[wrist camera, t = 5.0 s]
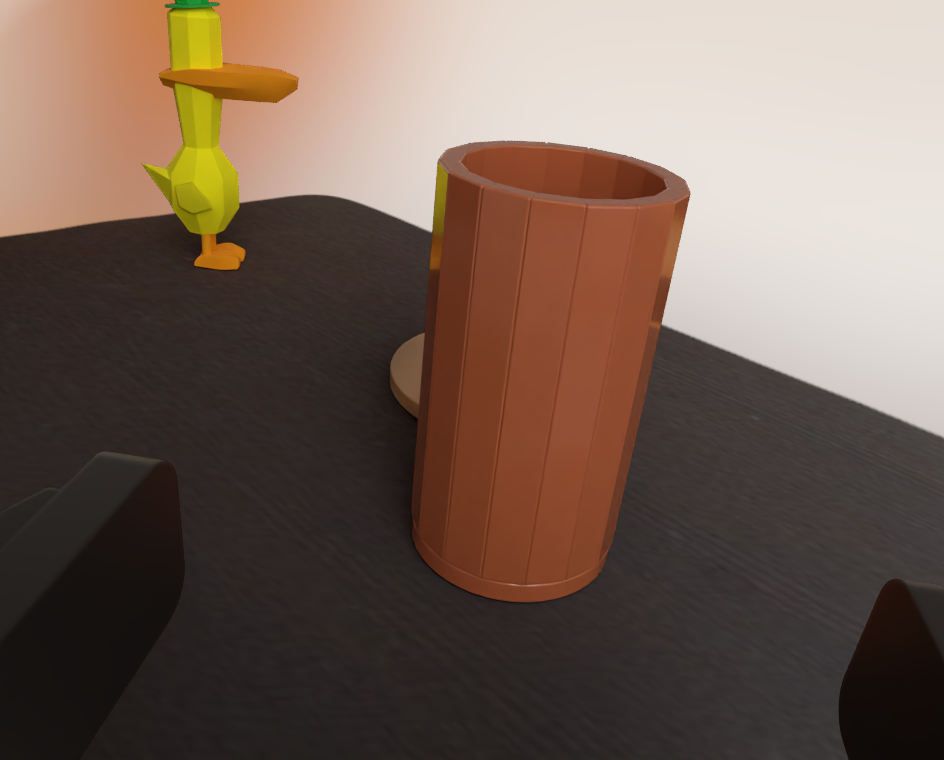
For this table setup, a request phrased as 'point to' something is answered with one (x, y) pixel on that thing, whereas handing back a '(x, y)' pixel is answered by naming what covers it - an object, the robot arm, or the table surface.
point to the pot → (537, 359)
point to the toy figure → (208, 126)
